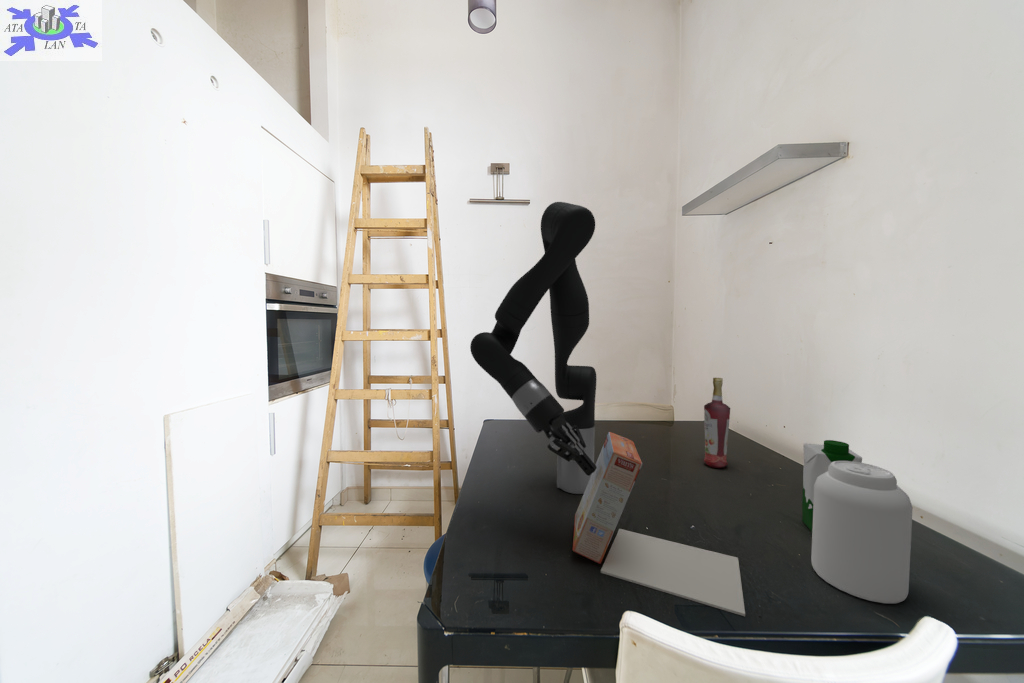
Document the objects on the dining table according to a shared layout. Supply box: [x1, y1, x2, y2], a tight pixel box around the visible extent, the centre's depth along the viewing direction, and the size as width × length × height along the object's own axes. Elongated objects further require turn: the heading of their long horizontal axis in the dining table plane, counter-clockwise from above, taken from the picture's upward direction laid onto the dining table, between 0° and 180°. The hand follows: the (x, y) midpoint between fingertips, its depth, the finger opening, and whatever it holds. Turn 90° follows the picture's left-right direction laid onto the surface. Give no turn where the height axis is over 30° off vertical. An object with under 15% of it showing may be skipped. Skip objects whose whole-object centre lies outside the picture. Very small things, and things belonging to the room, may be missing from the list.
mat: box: [600, 528, 746, 617], centre depth 70 cm, size 22×16×1 cm
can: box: [810, 461, 913, 604], centre depth 66 cm, size 12×12×20 cm
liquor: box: [703, 377, 731, 469], centre depth 121 cm, size 7×7×28 cm
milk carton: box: [801, 439, 863, 533], centre depth 82 cm, size 9×9×20 cm
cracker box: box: [572, 431, 643, 565], centre depth 76 cm, size 14×6×21 cm, turn 168°
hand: (592, 472), depth 76 cm, fingers closed
